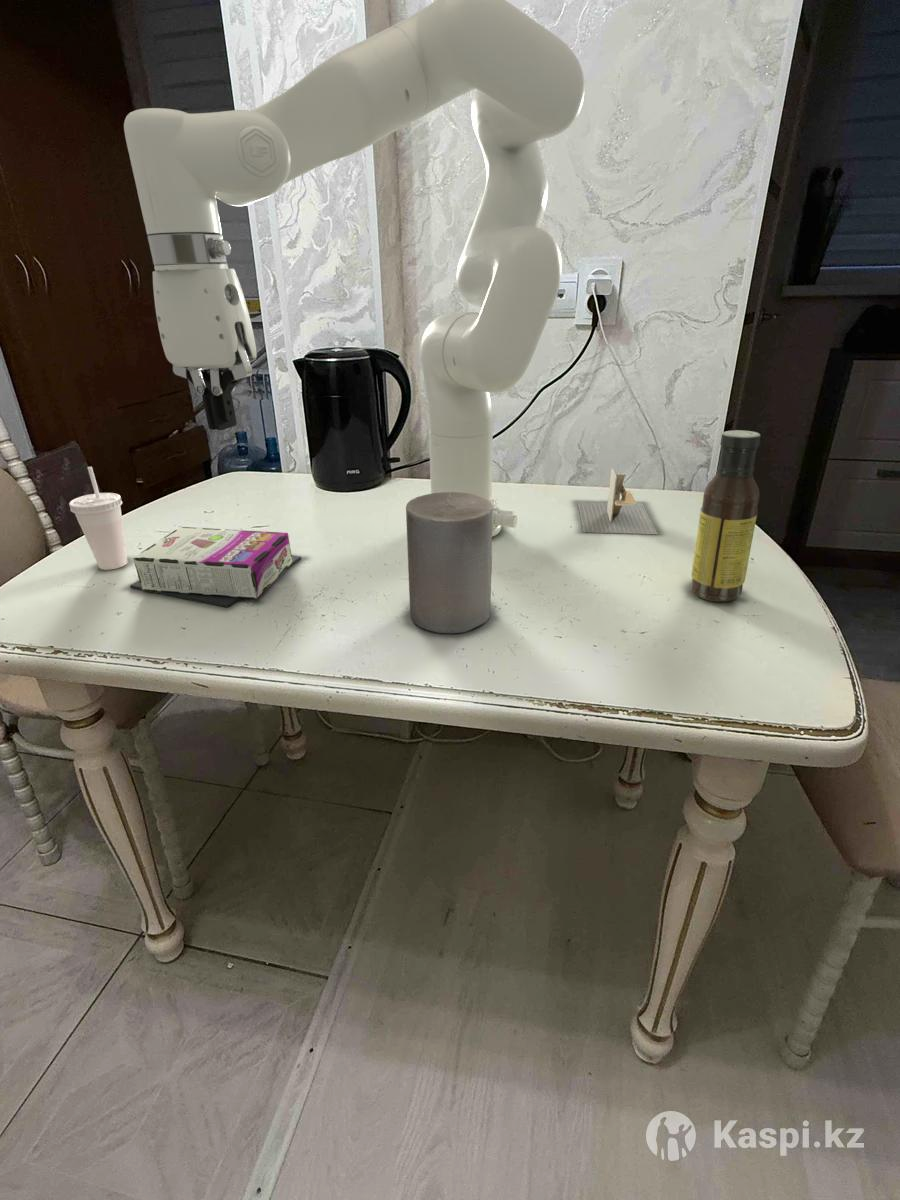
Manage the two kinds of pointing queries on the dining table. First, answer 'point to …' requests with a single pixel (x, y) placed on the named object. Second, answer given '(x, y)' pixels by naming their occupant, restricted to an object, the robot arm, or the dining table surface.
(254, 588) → the candy bar box
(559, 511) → the dining table surface
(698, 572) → the sauce bottle
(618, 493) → the architectural model
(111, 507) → the smoothie
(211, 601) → the mat
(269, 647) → the dining table surface
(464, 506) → the pillar candle
